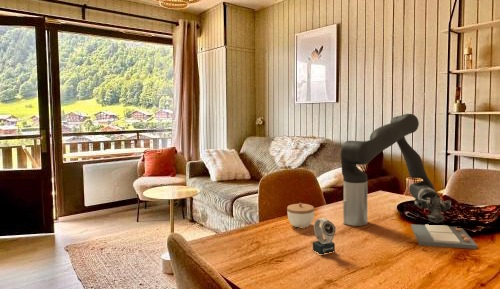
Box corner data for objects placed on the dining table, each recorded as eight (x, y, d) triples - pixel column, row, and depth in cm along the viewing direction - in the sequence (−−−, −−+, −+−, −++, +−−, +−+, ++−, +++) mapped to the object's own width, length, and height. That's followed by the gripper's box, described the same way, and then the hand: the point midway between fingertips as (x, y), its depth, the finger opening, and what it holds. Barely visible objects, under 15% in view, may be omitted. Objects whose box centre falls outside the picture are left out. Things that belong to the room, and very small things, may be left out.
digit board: (419, 245, 119) (419, 238, 119) (411, 227, 136) (411, 221, 136) (477, 249, 114) (477, 242, 114) (461, 230, 131) (461, 224, 131)
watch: (324, 258, 111) (323, 224, 110) (309, 249, 118) (309, 217, 117) (338, 254, 113) (338, 221, 112) (323, 246, 121) (323, 214, 120)
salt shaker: (447, 227, 135) (448, 196, 134) (431, 227, 135) (432, 196, 134) (439, 222, 141) (440, 192, 140) (424, 222, 141) (425, 192, 140)
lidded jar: (314, 222, 146) (314, 199, 145) (314, 231, 136) (314, 207, 135) (288, 221, 148) (287, 199, 147) (286, 230, 138) (285, 206, 137)
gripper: (410, 188, 153) (417, 198, 136) (447, 189, 149) (459, 200, 132) (410, 205, 153) (417, 217, 137) (447, 207, 149) (458, 219, 133)
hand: (437, 209), depth 135 cm, fingers closed on salt shaker, 3 cm apart
